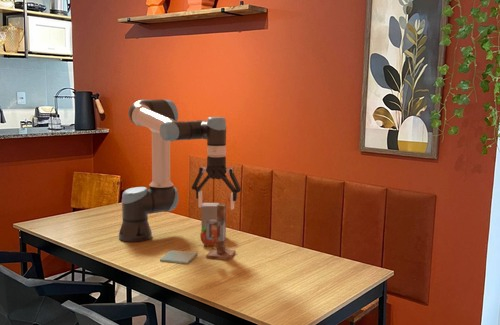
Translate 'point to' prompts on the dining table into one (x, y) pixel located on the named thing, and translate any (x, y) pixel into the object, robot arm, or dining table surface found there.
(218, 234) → the stand
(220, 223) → the c link
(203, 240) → the fruit
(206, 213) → the skincare box
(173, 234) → the dining table surface
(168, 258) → the coaster
